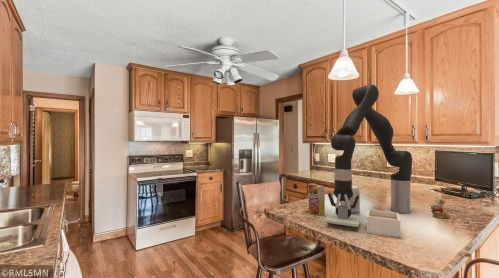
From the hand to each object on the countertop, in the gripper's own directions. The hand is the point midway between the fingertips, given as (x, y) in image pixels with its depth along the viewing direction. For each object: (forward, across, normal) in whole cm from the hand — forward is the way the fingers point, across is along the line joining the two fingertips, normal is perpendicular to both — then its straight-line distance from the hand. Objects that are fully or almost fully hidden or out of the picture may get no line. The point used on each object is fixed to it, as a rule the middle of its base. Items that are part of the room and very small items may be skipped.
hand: (343, 216), depth 113 cm
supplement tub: (+4, -1, -19) cm, 19 cm away
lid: (+2, 0, 0) cm, 2 cm away
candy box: (+4, +15, -13) cm, 20 cm away
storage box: (+4, -16, 0) cm, 17 cm away
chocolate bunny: (+5, -42, -35) cm, 55 cm away
